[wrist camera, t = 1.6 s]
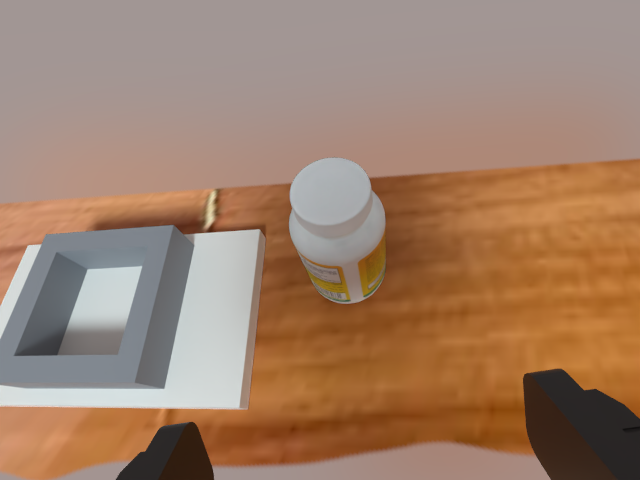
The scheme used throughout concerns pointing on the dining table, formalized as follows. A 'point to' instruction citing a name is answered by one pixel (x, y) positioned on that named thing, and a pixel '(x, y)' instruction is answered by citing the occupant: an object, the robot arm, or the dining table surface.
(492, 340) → the dining table surface
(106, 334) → the collar board
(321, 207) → the supplement bottle
